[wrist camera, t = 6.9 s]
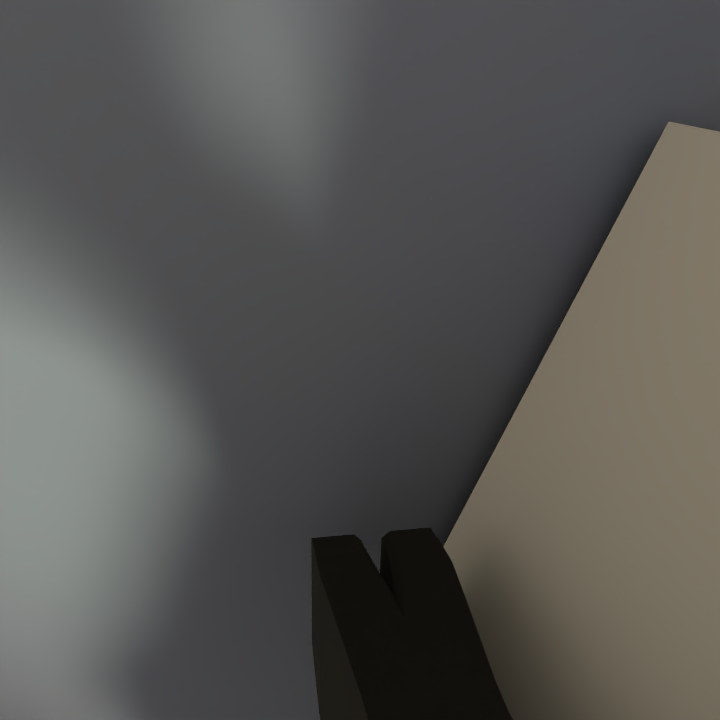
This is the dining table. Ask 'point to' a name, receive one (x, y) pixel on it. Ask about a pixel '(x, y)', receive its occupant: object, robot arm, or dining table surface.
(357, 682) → the robot arm
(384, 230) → the dining table surface
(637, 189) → the cabinet door
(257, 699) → the dining table surface
